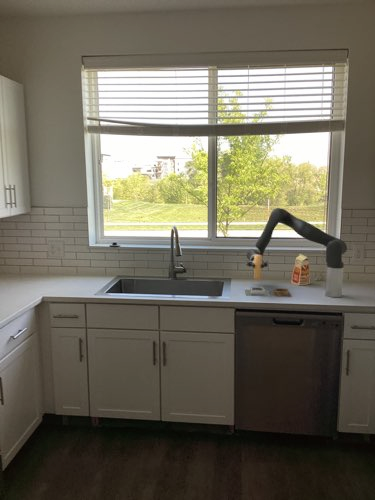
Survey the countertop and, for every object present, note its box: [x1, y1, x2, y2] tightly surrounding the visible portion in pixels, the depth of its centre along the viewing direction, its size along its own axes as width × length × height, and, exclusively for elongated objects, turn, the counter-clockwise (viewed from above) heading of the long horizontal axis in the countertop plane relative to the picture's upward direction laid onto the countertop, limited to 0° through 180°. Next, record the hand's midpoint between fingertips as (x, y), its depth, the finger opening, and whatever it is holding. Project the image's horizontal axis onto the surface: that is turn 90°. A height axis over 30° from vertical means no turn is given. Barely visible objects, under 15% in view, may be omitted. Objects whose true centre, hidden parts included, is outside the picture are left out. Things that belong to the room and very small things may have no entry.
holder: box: [271, 287, 292, 298], centre depth 246 cm, size 10×10×4 cm
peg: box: [253, 255, 263, 280], centre depth 246 cm, size 4×4×14 cm
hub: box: [244, 286, 271, 297], centre depth 249 cm, size 14×14×4 cm
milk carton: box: [290, 253, 311, 286], centre depth 275 cm, size 9×9×20 cm
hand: (258, 266), depth 244 cm, fingers closed on peg, 4 cm apart
